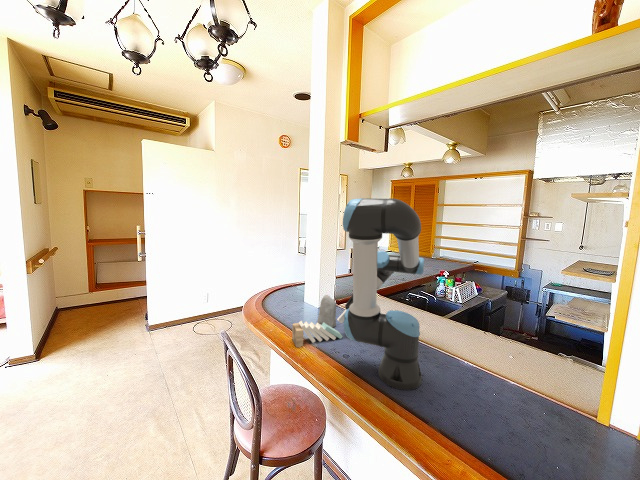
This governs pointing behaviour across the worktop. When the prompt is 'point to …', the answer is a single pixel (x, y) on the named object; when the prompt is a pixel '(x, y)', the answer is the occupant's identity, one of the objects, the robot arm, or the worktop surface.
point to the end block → (297, 334)
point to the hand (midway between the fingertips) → (339, 321)
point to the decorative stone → (327, 311)
